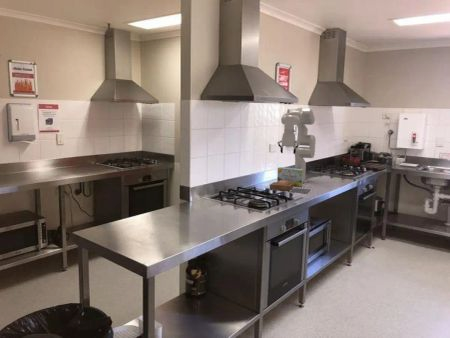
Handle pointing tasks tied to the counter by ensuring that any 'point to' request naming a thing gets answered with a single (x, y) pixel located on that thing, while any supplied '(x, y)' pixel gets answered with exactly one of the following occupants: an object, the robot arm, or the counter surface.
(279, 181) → the tile
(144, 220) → the counter surface
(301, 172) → the snack box
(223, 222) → the counter surface
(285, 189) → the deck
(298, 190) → the mat
